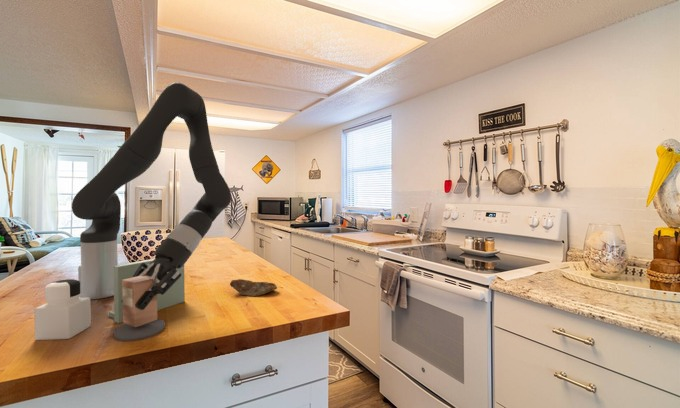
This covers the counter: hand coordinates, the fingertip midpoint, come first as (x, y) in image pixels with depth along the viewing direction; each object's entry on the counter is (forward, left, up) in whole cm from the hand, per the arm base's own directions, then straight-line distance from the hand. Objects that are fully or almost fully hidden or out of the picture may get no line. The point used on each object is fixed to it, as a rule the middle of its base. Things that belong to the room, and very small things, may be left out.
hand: (131, 305), depth 72 cm
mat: (+1, +2, -7) cm, 7 cm away
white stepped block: (-16, -2, -7) cm, 17 cm away
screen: (-8, +15, -7) cm, 18 cm away
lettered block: (+1, +2, -4) cm, 5 cm away
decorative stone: (+15, +34, -7) cm, 38 cm away
